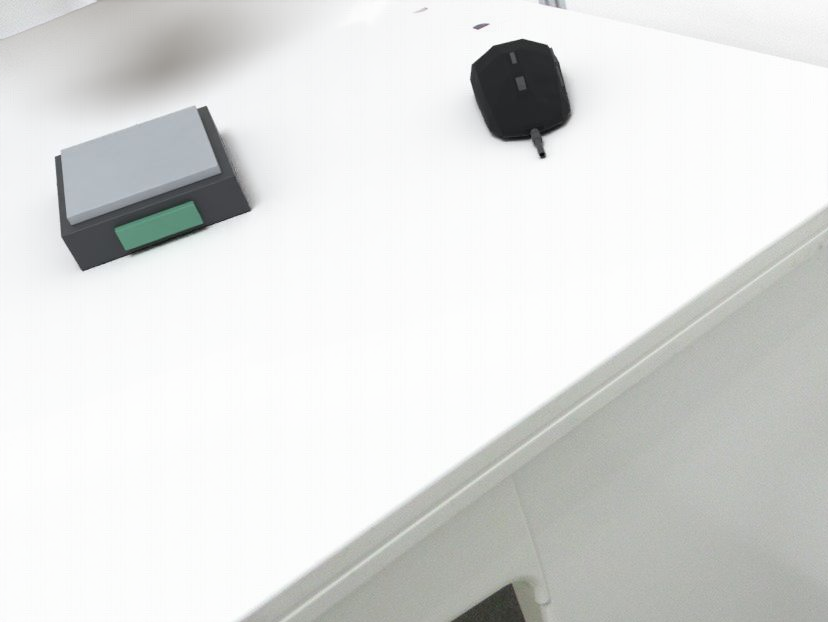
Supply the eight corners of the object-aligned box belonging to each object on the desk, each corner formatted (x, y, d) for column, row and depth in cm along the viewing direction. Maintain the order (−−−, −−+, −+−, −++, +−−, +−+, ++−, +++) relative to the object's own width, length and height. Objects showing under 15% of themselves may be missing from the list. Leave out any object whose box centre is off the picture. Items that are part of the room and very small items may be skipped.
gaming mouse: (495, 170, 68) (477, 110, 66) (471, 85, 79) (456, 30, 77) (591, 145, 69) (578, 84, 66) (554, 63, 80) (542, 8, 77)
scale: (72, 188, 78) (49, 148, 76) (221, 137, 80) (202, 97, 78) (82, 275, 67) (55, 231, 65) (252, 213, 70) (232, 169, 68)
